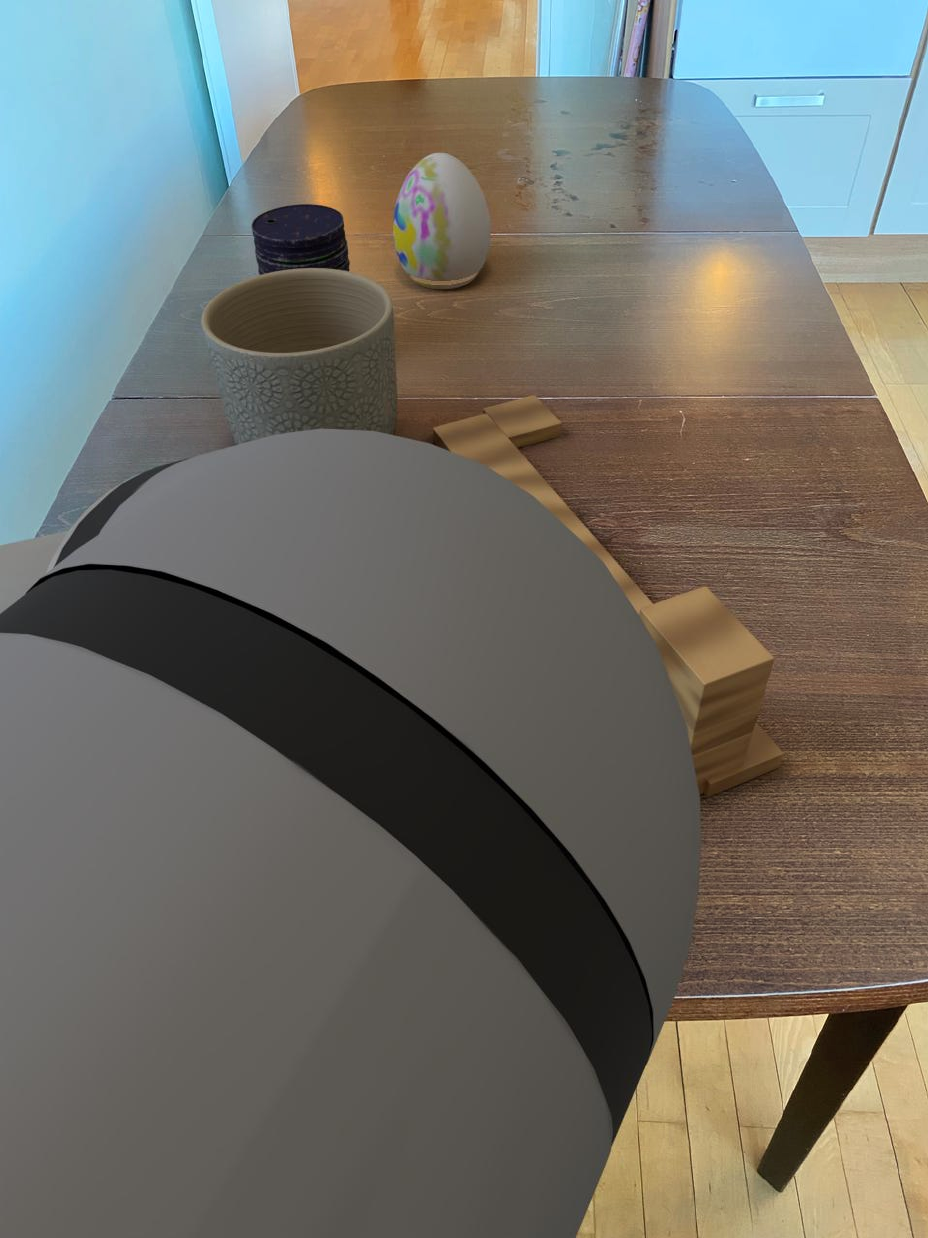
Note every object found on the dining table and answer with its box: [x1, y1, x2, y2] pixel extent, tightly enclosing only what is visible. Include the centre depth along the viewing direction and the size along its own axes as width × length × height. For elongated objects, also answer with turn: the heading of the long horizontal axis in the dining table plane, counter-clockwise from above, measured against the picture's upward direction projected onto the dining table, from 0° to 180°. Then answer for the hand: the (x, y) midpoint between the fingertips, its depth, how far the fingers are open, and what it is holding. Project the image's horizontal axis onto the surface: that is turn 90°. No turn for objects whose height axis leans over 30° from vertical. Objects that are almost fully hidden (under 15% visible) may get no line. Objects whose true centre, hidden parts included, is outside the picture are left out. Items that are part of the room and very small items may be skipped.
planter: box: [201, 268, 399, 445], centre depth 89 cm, size 17×17×15 cm
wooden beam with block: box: [432, 394, 785, 798], centre depth 77 cm, size 49×14×12 cm, turn 24°
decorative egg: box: [392, 152, 492, 290], centre depth 118 cm, size 12×12×15 cm
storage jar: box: [251, 203, 351, 275], centre depth 104 cm, size 10×10×15 cm
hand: (367, 749), depth 52 cm, fingers closed
